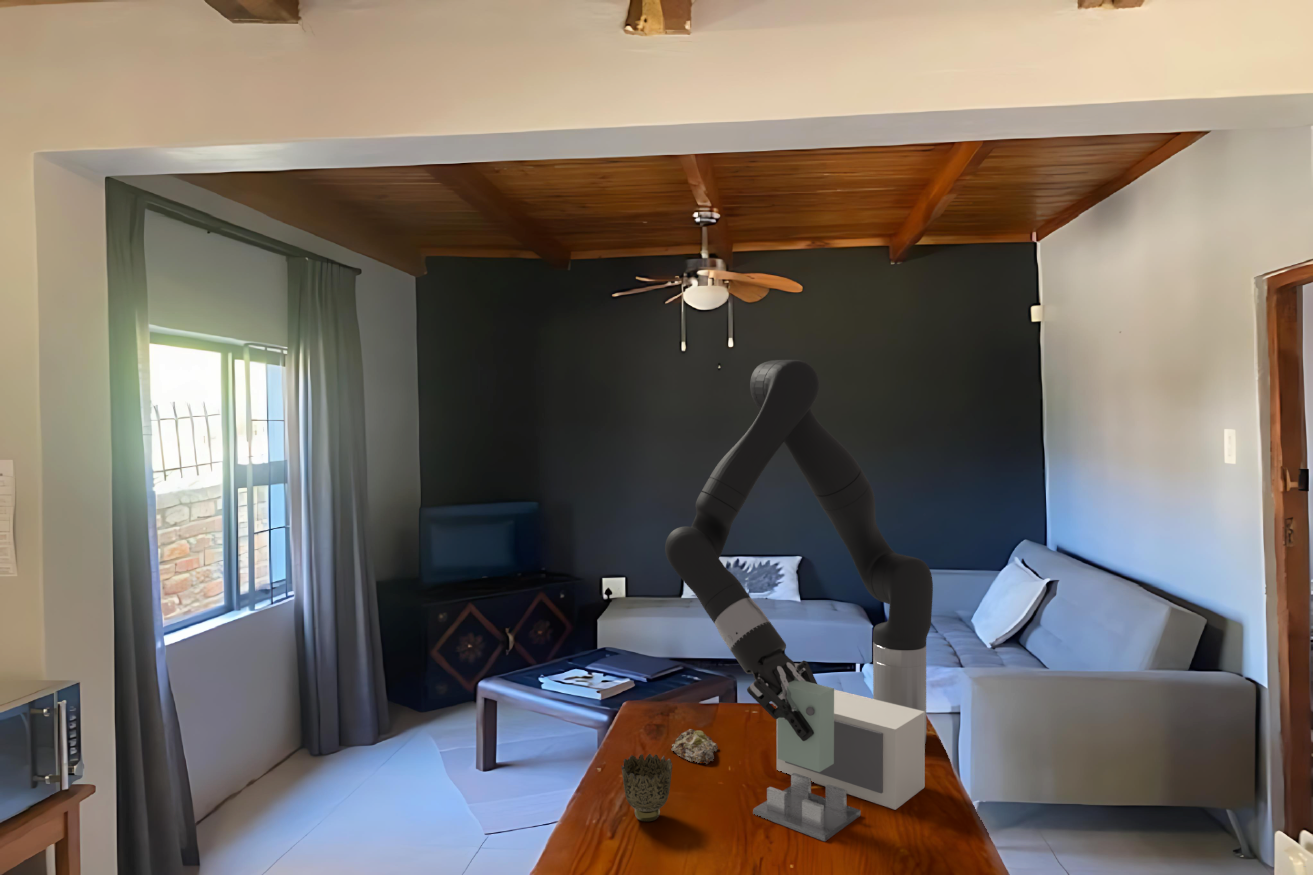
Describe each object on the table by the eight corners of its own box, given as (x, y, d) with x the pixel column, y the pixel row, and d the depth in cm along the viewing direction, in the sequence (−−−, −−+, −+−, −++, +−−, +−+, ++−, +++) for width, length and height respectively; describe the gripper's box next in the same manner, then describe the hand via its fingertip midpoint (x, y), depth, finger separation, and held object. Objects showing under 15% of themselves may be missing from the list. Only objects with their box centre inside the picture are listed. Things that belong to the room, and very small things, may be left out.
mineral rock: (663, 732, 149) (704, 716, 151) (669, 754, 150) (710, 738, 152) (679, 758, 139) (723, 740, 141) (685, 781, 140) (729, 764, 141)
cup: (667, 832, 118) (667, 776, 117) (616, 827, 119) (616, 772, 119) (676, 808, 125) (676, 755, 125) (628, 803, 126) (628, 751, 126)
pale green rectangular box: (792, 750, 126) (793, 678, 126) (833, 763, 121) (834, 688, 121) (773, 760, 122) (774, 686, 122) (815, 774, 118) (815, 697, 117)
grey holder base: (790, 791, 130) (790, 767, 130) (860, 815, 122) (860, 789, 122) (753, 814, 123) (753, 788, 123) (824, 841, 115) (824, 814, 115)
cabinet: (809, 751, 145) (808, 683, 145) (924, 787, 131) (924, 711, 131) (774, 771, 137) (774, 698, 137) (893, 811, 123) (893, 730, 123)
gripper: (735, 629, 121) (807, 733, 114) (789, 612, 132) (858, 706, 124) (707, 658, 125) (774, 761, 117) (761, 640, 136) (827, 733, 128)
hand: (817, 732), depth 121 cm, fingers closed on pale green rectangular box, 4 cm apart
